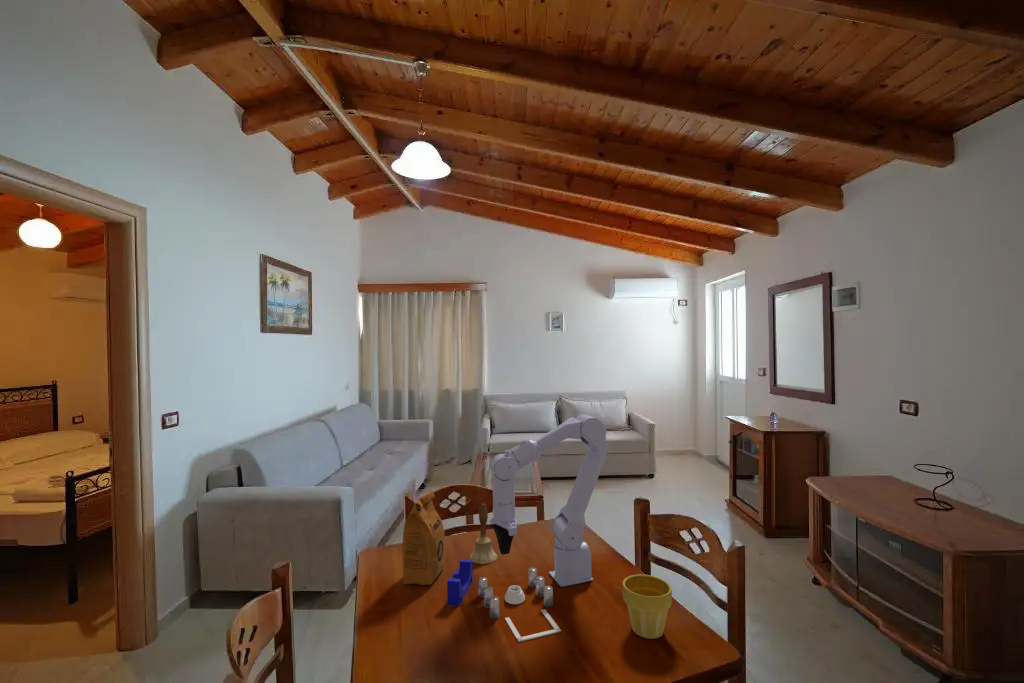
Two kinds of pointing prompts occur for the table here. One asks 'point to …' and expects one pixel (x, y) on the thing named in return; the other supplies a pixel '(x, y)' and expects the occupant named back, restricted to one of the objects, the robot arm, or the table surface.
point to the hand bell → (483, 542)
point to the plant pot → (647, 604)
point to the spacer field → (534, 581)
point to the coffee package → (423, 543)
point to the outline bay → (520, 639)
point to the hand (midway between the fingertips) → (504, 553)
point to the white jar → (514, 595)
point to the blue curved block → (459, 583)
